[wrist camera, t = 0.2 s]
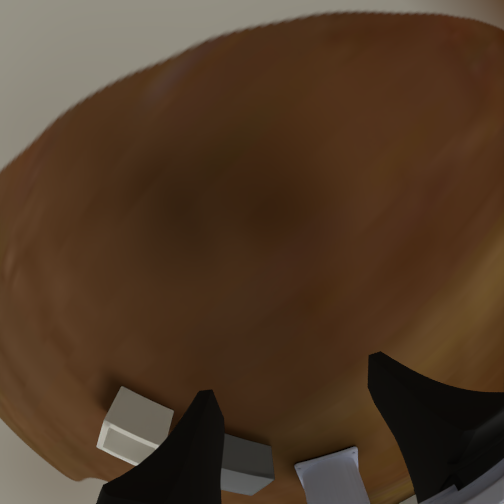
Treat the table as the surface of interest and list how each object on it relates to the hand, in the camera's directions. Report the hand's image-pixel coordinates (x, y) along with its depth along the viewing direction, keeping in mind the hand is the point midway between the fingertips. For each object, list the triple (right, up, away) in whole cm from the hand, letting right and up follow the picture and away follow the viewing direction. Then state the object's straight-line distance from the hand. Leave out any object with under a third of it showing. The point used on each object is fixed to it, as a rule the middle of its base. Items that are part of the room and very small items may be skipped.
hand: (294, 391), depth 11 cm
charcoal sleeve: (-4, -16, +14) cm, 21 cm away
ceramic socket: (-13, -11, +12) cm, 21 cm away
